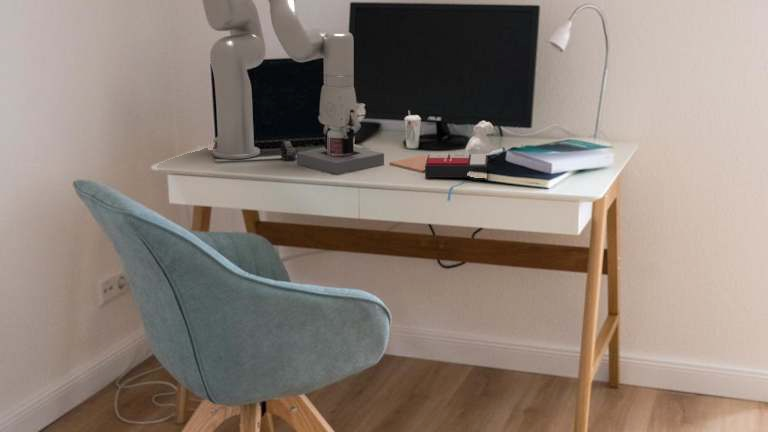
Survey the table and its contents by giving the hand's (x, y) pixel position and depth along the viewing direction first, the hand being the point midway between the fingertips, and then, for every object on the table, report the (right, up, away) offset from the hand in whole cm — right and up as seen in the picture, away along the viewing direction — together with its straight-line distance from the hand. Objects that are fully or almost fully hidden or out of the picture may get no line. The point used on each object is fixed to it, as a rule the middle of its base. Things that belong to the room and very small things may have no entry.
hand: (339, 150), depth 249 cm
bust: (+37, -2, +7) cm, 37 cm away
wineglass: (+3, +2, +21) cm, 21 cm away
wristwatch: (-14, -2, +7) cm, 15 cm away
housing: (0, -4, +1) cm, 4 cm away
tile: (+21, -4, 0) cm, 22 cm away
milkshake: (+19, +2, +21) cm, 28 cm away
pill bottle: (0, -4, +1) cm, 4 cm away
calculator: (+30, -6, -10) cm, 32 cm away
